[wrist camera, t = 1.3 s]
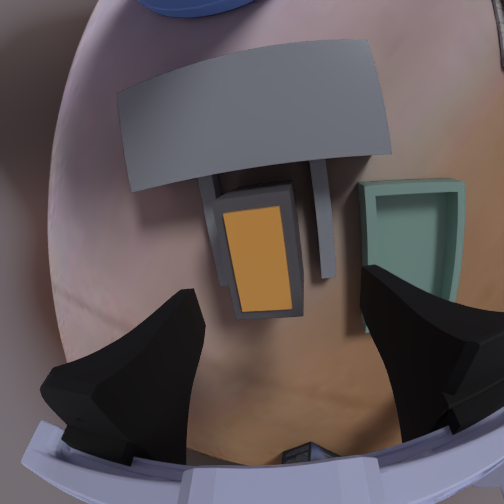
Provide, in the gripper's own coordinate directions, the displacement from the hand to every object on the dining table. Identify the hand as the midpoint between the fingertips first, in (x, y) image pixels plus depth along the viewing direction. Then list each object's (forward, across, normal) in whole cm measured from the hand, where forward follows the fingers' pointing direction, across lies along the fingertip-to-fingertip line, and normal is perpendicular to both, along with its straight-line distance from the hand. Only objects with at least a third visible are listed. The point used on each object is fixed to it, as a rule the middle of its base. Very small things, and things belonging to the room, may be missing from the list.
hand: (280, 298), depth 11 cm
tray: (+10, -12, +4) cm, 16 cm away
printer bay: (+12, 0, -3) cm, 13 cm away
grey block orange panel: (+12, 0, +1) cm, 12 cm away
